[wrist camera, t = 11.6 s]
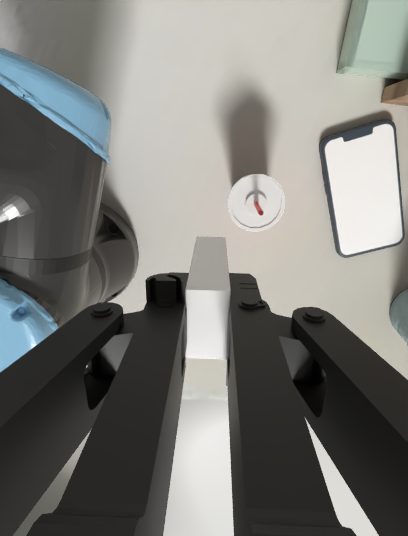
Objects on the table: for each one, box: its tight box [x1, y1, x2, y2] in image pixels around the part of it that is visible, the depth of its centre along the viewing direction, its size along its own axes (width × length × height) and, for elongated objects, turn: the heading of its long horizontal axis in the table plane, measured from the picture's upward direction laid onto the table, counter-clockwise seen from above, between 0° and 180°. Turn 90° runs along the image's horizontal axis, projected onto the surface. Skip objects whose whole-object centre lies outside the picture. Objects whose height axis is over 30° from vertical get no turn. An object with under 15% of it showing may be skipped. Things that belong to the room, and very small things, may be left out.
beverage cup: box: [228, 174, 285, 232], centre depth 36 cm, size 6×6×14 cm
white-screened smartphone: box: [319, 120, 405, 258], centre depth 41 cm, size 9×2×16 cm
